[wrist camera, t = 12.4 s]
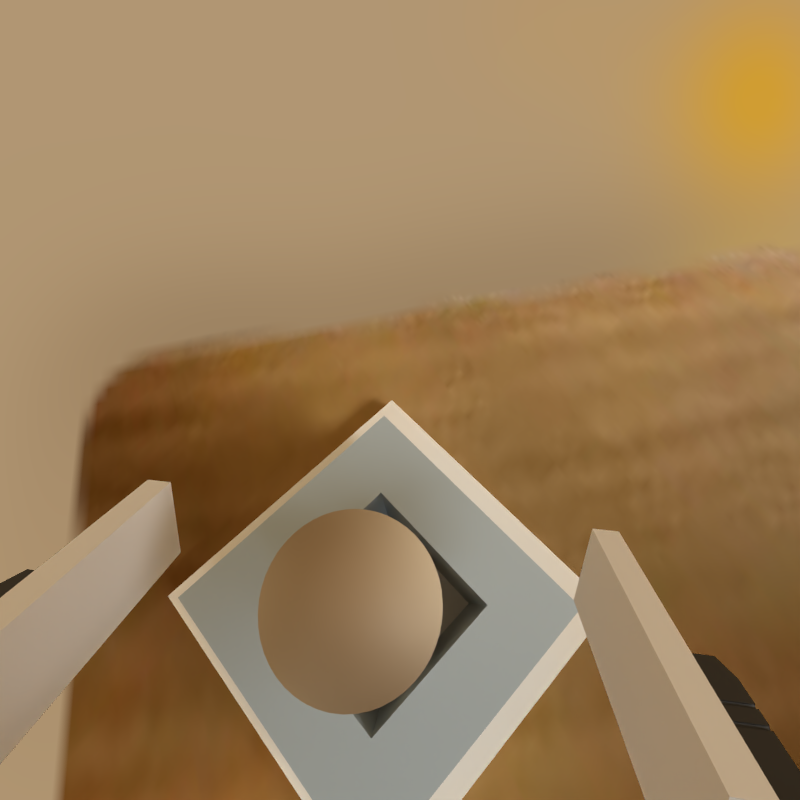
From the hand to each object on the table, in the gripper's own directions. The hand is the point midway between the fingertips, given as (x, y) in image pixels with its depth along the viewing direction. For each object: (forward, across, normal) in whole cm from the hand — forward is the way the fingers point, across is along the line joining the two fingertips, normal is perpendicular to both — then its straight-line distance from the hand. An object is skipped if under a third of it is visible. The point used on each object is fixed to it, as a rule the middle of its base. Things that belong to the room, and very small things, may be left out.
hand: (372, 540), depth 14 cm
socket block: (+7, 0, -9) cm, 12 cm away
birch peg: (+6, 0, -8) cm, 10 cm away
